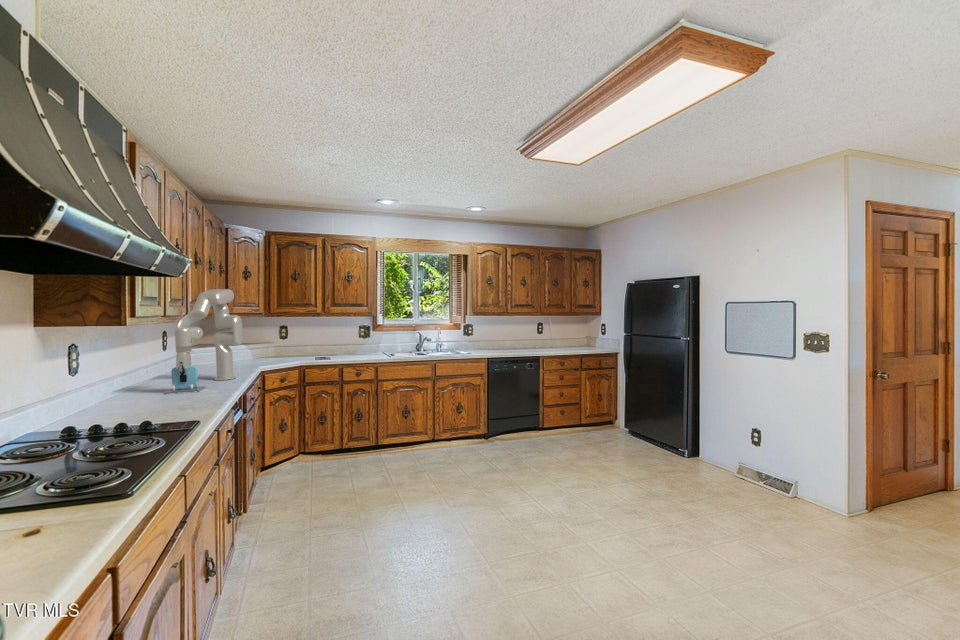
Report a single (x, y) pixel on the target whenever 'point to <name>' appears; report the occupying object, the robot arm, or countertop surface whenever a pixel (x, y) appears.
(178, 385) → the light blue rounded slab
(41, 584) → the countertop surface
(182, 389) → the pin tray
